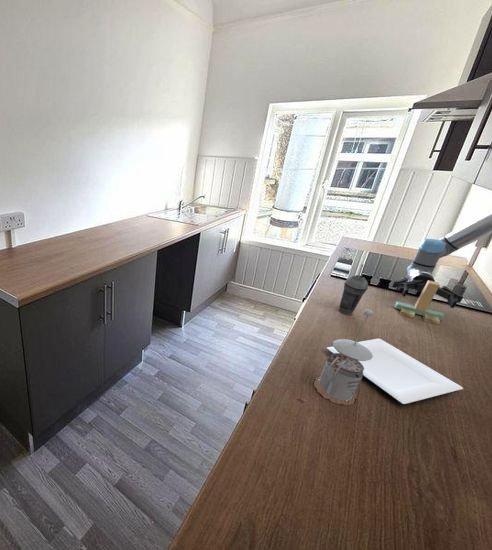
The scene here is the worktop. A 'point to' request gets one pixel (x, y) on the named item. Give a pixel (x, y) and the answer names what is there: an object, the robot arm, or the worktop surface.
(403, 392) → the plate
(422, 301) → the wiper
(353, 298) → the beverage cup
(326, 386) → the french press
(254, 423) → the worktop surface
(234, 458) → the worktop surface
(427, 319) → the crust
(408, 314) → the crust
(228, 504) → the worktop surface
